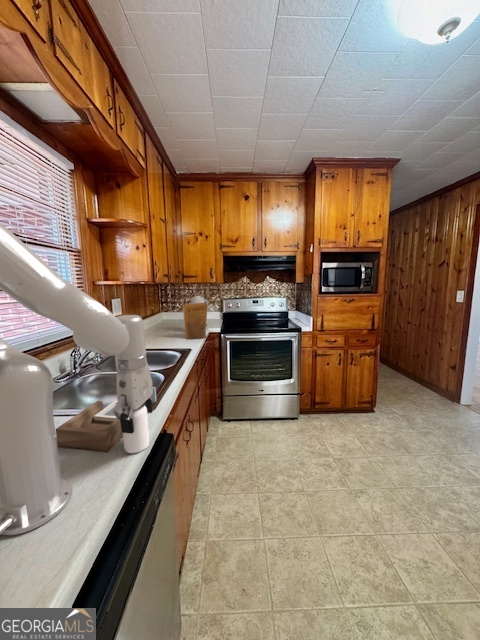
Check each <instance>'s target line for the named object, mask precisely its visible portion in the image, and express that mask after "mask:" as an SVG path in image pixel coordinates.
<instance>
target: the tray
mask: <svg viewBox="0 0 480 640" xmlns="http://www.w3.org/2000/svg"><path fill="white" fill-rule="evenodd" d="M152 387H153V394H152V399H150V400H152V403H156V402H157V389H156V388H157V387H156V386H152ZM117 402H118V400H114V401H112V402H111V403H110V404H108V405H107V406H106V407H103V410H102V411H100V412H99V413H97V414H96V415H95V416H94V422H106V423H113V422H114V421H115V420H116V419H118V418H116V415H115V414H114V412H113V409H114V407H115V406H116V404H117Z"/></svg>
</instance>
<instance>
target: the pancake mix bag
mask: <svg viewBox="0 0 480 640" xmlns="http://www.w3.org/2000/svg"><path fill="white" fill-rule="evenodd" d="M182 311H183V312H182V313H183V322H184V324H183V325H184V331H185V340H201V339H206V338H207V333H206V332H207V326H206V324H207V318H208V317H207V316H208V310H207V303H206V302H204V303H195V304H191V303H185V304H184V305H183V306H182Z"/></svg>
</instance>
